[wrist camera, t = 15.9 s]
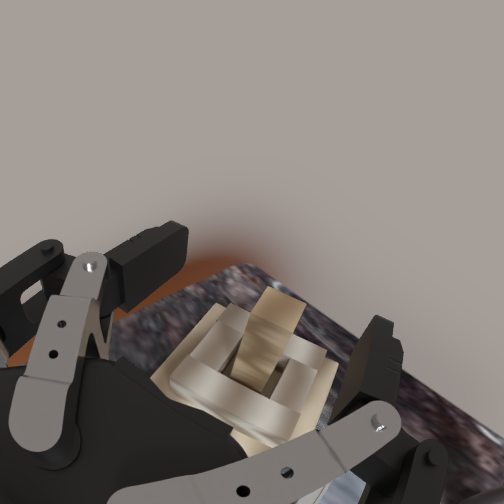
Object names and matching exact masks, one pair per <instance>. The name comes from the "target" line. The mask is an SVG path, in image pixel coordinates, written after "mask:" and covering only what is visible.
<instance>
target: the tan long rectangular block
mask: <svg viewBox="0 0 504 504" xmlns="http://www.w3.org/2000/svg"><path fill="white" fill-rule="evenodd" d="M305 306H306V303H303V302H301V301H299V300H297V299H295V298H293V297H290V296H288V295H286V294H284V293H282V292H280V291H278V290H275V289H273V288H271V287H269V286H268V287H267V289H266V290H265V292H264V293H263V295H262V296H261V298H260V299H259V301H258V302H257V304H256V305H255V307H254V308H253V310H252V311H251V313H250V316H249V319H248V322H247V325H246V328H245V331H244V335H243V338H242V341H241V344H240V347H239V350H238V353H237V356H236V359H235V362H234V365H233V369H232V372H231V375H230V379H232V380H233V381H235V382H237V383H239V384H241V385H243V386H245V387H247V388H249V389H251V390H252V391H254V392H256V393H258V394H260V393H261V392H262V390H263V388H264V386H265V385H266V383H267V381H268V379H269V377H270V375H271V374H272V372H273V370H274V368H275V366H276V364H277V362H278V361H279V359H280V357H281V355H282V353H283V351H284V349H285V347H286V345H287V343H288V342H289V340H290V338H291V336H292V334H293V332H294V330H295V328H296V325H297V323H298V321H299V319H300V317H301V315H302V313H303V310H304V308H305Z"/></svg>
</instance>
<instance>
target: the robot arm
mask: <svg viewBox="0 0 504 504" xmlns="http://www.w3.org/2000/svg"><path fill="white" fill-rule="evenodd" d="M188 234H189V231H188V228H187V227H185V226H183V225H181V224H179V223H177V222H174V221H169V222H167V223H165V224H164V225H162V226H160V227H154V228H150V229H146V230H144V231H142V232H140V233H139V234H137V235H136V236H134V237H132V238H130V239H129V240H127V241H125V242H123V243H122V244H120V245H118V246H117V247H115V248H113V249H112V250H110V251H108V252H107V253H105V254H103V255H102V254H101V253H97V252H87V253H83V254H81V255H79V256H77V257H74V256H71V255H68V254H65V253H64V249H63V244H62V243H61V242H60V241H58V240H54V239H50V240H45V241H42V242H40V243H38V244H36V245H35V246H33V247H32V248H30V249H29V250H27V251H25V252H24V253H22V254H21V255H19V256H17V257H16V258H14V259H13V260H11V261H10V262H8V263H7V264H5V265H4V266H2V267H1V268H0V504H291V503H293V502H295V501H297V500H299V499H301V498H303V497H304V496H306V495H308V494H310V493H312V492H314V491H316V490H317V489H319V488H321V487H323V486H325V485H326V484H328V483H330V482H331V481H333V480H335V479H336V478H338V477H340V476H341V475H343V474H344V473H346V472H347V471H348V470H350V471H351V472H353V473H354V474H355V475H357V476H358V477H359V478H361V479H362V480H363V481H365V482H366V486H365V488H364V491H363V493H362V496H361V498H360V500H359V503H358V504H440V501H441V497H442V493H443V488H444V484H445V479H446V474H447V469H448V462H449V457H448V453H447V450H446V448H445V447H444V445H443V444H442V443H440V442H439V441H437V440H434V439H427V440H424V441H423V442H421V443H419V442H418V441H417V440H415V439H414V438H413V437H411V436H410V435H409V434H407V433H406V432H405V431H404V430H403V429H402V428H401V418H400V415H399V413H398V412H397V410H396V404H397V398H398V392H399V385H400V378H401V375H400V374H401V371H402V362H403V353H404V352H403V349H402V346H401V343H400V340H398V339H395V338H393V337H392V335H393V327H394V326H393V325H394V323H393V322H392V321H389V320H387V319H385V318H383V317H380V316H378V315H375V316H374V317H373V319H372V320H371V322H370V323H369V325H368V327H367V328H366V330H365V331H364V333H363V334H362V336H361V337H360V339H359V340H358V342H357V344H356V345H355V347H354V349H353V352H352V354H351V357H350V360H349V364H348V367H347V370H346V373H345V376H344V379H343V382H342V385H341V388H340V391H339V394H338V397H337V400H336V403H335V406H334V408H333V411H332V414H331V417H330V419H329V422H328V424H327V425H329V426H328V427H326V428H324V429H322V430H317V429H315V430H312V431H310V432H307V433H305V434H303V435H301V436H299V437H297V438H294V439H292V440H290V441H288V442H285V443H283V444H281V445H278V446H276V447H274V448H271V449H269V450H266V451H264V452H261V453H259V454H256V455H254V456H251V457H248V456H247V454H246V452H245V451H244V449H243V448H242V446H241V445H240V444H239V443H238V442H237V441H236V440H235V439H234V438H233V437H232V436H231V432H232V430H233V428H234V427H232V426H230V425H228V424H226V423H225V422H223V421H221V420H219V419H217V418H216V417H214V416H212V415H210V414H209V413H207V412H205V411H203V410H200V409H197V408H194V407H191V406H188V405H185V404H183V403H180V402H177V401H174V400H171V399H169V398H168V397H167V396H166V395H165V394H164V393H163V392H162V391H161V390H160V389H159V388H158V387H157V385H156V384H155V383H154V382H153V381H152V380H151V379H150V377H149V376H148V375H147V374H146V373H145V372H143V371H142V370H140V369H139V368H138V367H136V366H135V365H134V364H132V363H131V362H130V361H128V360H127V359H126V358H124V357H123V356H122V357H121V358H120V359H119V360H118V361H117V362H114V361H111V360H109V344H110V337H111V331H112V325H113V319H114V310H115V309H116V308H117V307H119V308H120V309H122V310H123V311H125V312H126V313H128V312H129V311H130V310H132V309H133V308H134V307H135V306H137V305H138V304H139V303H140V302H141V301H143V300H144V299H145V298H146V297H148V296H149V295H150V294H151V293H153V292H154V291H155V290H156V289H158V288H159V287H160V286H161V285H162V284H164V283H165V282H166V281H168V280H169V279H170V278H171V277H173V276H174V275H175V274H176V273H178V272H179V271H180V270H181V268H182V267H183V266H184V263H185V261H186V254H187V244H188ZM39 280H40V282H41V285H42V290H41V291H39V292H38V293H37V294H36V295H34V296H33V297H31V298H30V299H29V300H28V301H26V302H25V303H24V304H21V301H20V298H21V294H22V293H23V292H24V291H25V290H26V289H28V288H29V287H30V286H32V285H33V284H34V283H36V282H37V281H39ZM34 335H36V338H35V340H34V344H33V347H32V350H31V353H30V357H29V360H28V364H27V365H26V366H16V367H8V365H7V364H6V363H7V361H8V359H9V358H10V357H11V356H12V355H13V354H14V353H15V352H16V351H18V350H19V349H20V348H21V347H22V346H23V345H24V344H25V343H27V342H28V341H29V340H30V339H31V338H32V337H34ZM458 504H504V482H503V483H501V484H499V485H497V486H495V487H493V488H490V489H488V490H486V491H483V492H481V493H479V494H476V495H474V496H471V497H469V498H466V499H464V500H462V501H461V502H459V503H458Z"/></svg>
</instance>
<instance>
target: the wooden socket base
mask: <svg viewBox="0 0 504 504" xmlns="http://www.w3.org/2000/svg"><path fill="white" fill-rule="evenodd" d="M249 316H250V312H248V311H246V310H244V309H242V308H240V307H238V306H236V305H234V304H232V303H230V304H229V305H228V306H227V308H225V307H223V306H221V305H219V304H218V303H215V304H214V305H213V307H212V308H211V309H210V310H209V311H208V312H207V313H206V315H205V316H204V317H203V318H202V319H201V320H200V321H199V323H198V324H197V325H196V326H195V327H194V328H193V329H192V331H191V332H190V333H189V334H188V335H187V336H186V337H185V339H184V340H183V341H182V342H181V343H180V344H179V345H178V347H177V348H176V349H175V350H174V351H173V352H172V353H171V355H170V356H169V357H168V358H167V359H166V360H165V361H164V363H163V364H162V365H161V366H160V367H159V368H158V369H157V370H156V372H155V373H154V374H153V375H152V376H151V377H150V379H151V380H152V381H153V382H154V383H155V384H156V385H157V387H158V388H159V389H160V390H161V391H162V392H163V393H164V394H165V395H166V396H167V397H168V398H169V399H171V400H174V401H177V402H180V403H183V404H185V405H188V406H191V407H194V408H197V409H200V410H203V411H205V412H207V413H209V414H210V415H212V416H214V417H216V418H217V419H219V420H221V421H223V422H225V423H226V424H228V425H230V426H232V427H234V428H233V430H232V432H231V436H232V437H233V438H234V439H235V440H236V441H237V442H238V443H239V444H240V445H241V446H242V448H243V449H244V451H245V452H246V454H247V456H248V457H251V456H254V455H256V454H259V453H261V452H264V451H266V450H269V449H271V448H274V447H276V446H278V445H281V444H283V443H285V442H288V441H290V440H292V439H294V438H297V437H299V436H301V435H303V434H305V433H307V432H310V431H312V430H314V429H315V427H316V424H317V422H318V419H319V417H320V414H321V412H322V409H323V407H324V404H325V401H326V399H327V396H328V393H329V391H330V388H331V385H332V382H333V379H334V376H335V374H336V371H337V368H338V365H339V363H337V362H334V361H332V360H330V359H328V358H326V357H325V355H326V352H327V350H326V349H323V348H321V347H319V346H317V345H315V344H313V343H311V342H309V341H306V340H304V339H302V338H300V337H298V336H296V335H294V334H292V336H291V338H290V340H289V342H288V343H287V345H286V347H285V349H284V351H283V353H282V355H281V357H280V359H279V361H278V362H277V364H276V366H275V368H274V370H273V372H272V374H271V375H270V377H269V379H268V381H267V383H266V385H265V386H264V388H263V390H262V392H261V393H260V394H258V393H256V392H254V391H252V390H251V389H249V388H247V387H245V386H243V385H241V384H239V383H237V382H235V381H233V380H232V379H230V375H231V372H232V369H233V365H234V362H235V359H236V356H237V353H238V350H239V347H240V344H241V341H242V338H243V335H244V331H245V328H246V325H247V322H248V319H249Z"/></svg>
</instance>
